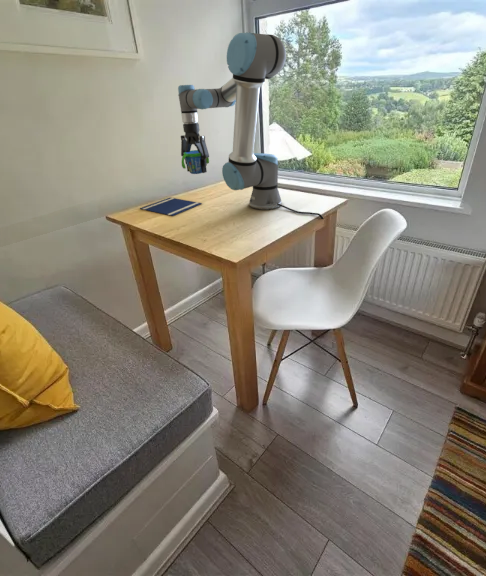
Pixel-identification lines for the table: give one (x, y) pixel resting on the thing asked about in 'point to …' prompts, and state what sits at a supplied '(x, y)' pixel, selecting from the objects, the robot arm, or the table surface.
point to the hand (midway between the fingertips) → (197, 171)
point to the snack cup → (193, 161)
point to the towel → (171, 206)
